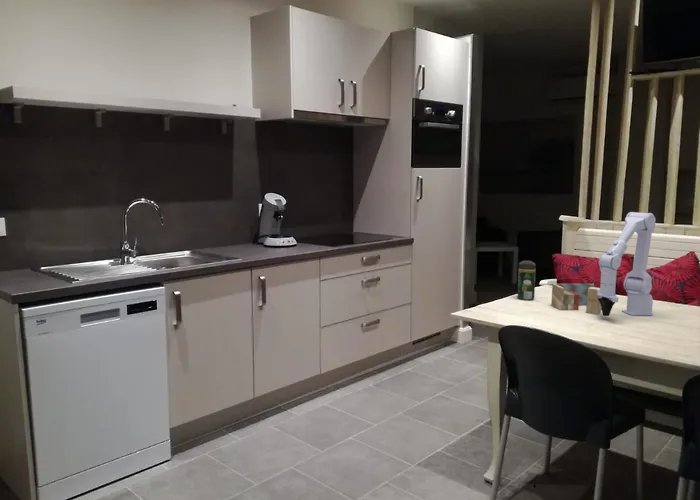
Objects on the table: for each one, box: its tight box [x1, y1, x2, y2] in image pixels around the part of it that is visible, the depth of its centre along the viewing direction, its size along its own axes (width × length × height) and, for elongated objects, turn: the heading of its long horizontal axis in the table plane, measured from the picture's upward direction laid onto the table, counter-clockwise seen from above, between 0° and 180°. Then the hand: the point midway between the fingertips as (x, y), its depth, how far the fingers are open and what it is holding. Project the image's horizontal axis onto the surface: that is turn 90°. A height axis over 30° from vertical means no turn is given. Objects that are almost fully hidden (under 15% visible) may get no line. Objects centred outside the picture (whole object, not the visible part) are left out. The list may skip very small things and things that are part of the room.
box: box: [585, 286, 602, 315], centre depth 239 cm, size 5×4×11 cm
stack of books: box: [550, 283, 602, 311], centre depth 249 cm, size 20×10×10 cm, turn 91°
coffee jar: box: [517, 260, 537, 301], centre depth 267 cm, size 10×8×19 cm
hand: (605, 315), depth 229 cm, fingers closed
